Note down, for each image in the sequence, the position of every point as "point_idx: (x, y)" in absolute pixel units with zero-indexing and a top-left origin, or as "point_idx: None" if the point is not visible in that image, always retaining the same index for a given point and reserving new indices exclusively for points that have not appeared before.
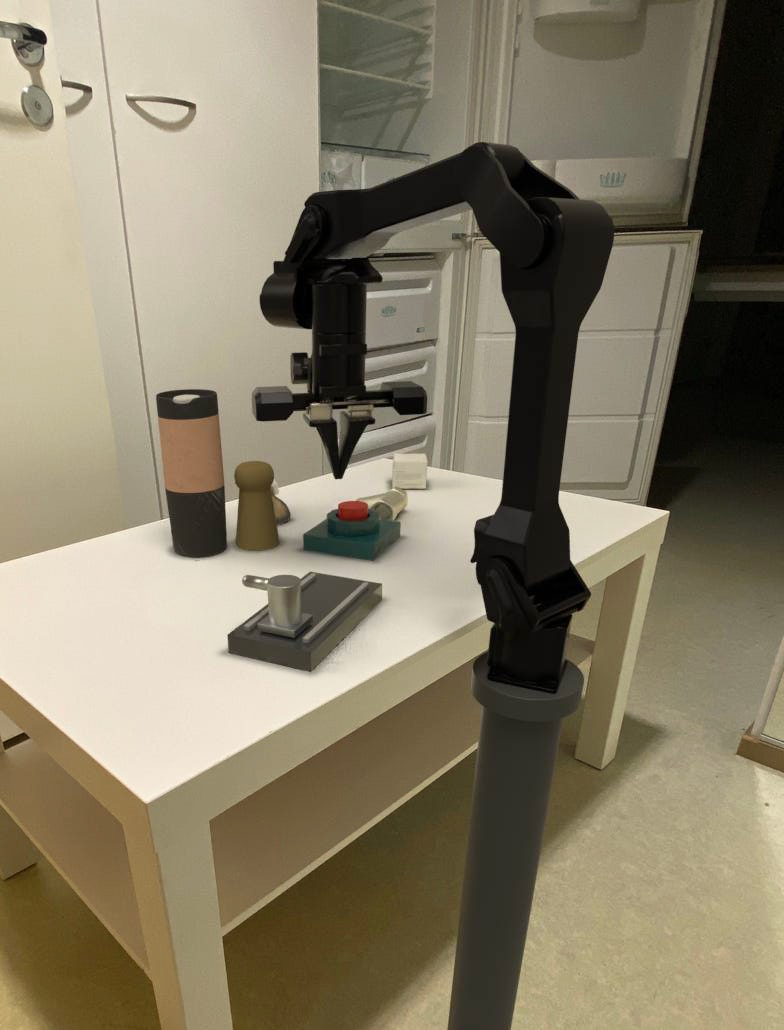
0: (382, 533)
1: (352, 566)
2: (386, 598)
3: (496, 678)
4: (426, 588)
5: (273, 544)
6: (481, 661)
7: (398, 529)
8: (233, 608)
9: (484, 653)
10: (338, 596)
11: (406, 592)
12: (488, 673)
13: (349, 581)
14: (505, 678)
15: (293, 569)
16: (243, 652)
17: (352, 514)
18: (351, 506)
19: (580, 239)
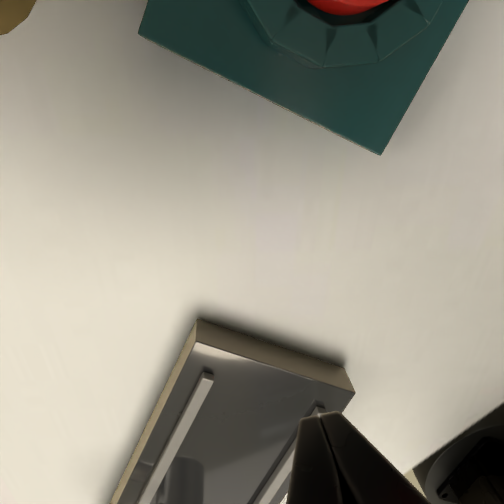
0: (433, 38)
1: (301, 188)
2: (354, 359)
3: (446, 500)
4: (445, 313)
5: (28, 3)
6: (445, 459)
7: None
8: (51, 412)
9: (458, 441)
10: (262, 449)
11: (399, 332)
12: (441, 493)
13: (287, 387)
14: (456, 500)
15: (140, 210)
16: None
17: (349, 8)
18: None
19: None
